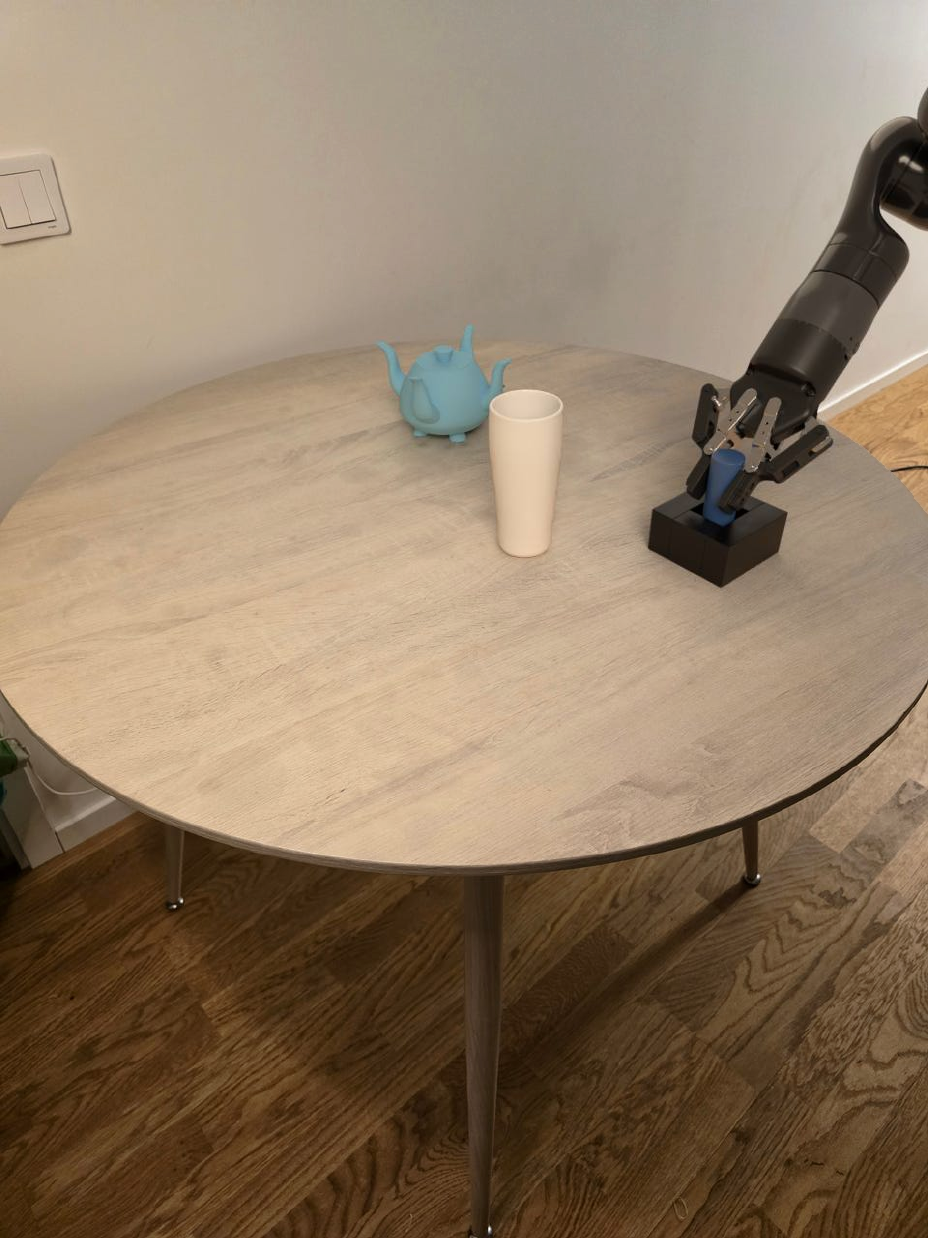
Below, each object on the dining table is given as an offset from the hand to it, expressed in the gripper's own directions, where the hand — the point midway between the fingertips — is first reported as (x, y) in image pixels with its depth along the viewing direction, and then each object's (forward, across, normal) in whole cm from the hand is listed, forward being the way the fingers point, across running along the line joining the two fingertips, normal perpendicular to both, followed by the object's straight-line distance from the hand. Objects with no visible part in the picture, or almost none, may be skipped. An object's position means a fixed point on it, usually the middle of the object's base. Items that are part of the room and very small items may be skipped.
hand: (708, 502), depth 80 cm
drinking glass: (+12, -13, -3) cm, 18 cm away
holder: (+3, 0, +6) cm, 6 cm away
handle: (+2, 0, +5) cm, 5 cm away
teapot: (+5, -39, +4) cm, 40 cm away
